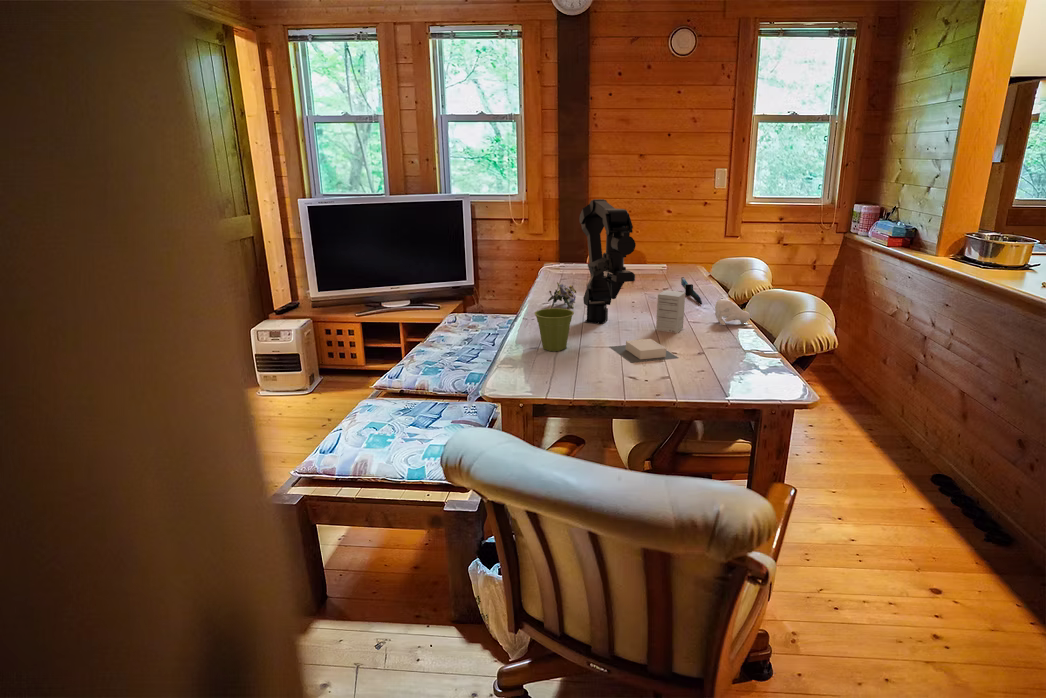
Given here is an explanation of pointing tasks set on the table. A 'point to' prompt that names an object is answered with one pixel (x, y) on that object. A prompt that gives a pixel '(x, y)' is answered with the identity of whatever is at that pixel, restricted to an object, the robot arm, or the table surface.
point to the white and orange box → (645, 349)
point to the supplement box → (670, 311)
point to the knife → (690, 290)
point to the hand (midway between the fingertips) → (613, 298)
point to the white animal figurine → (730, 312)
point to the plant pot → (554, 327)
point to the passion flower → (564, 295)
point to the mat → (633, 359)
